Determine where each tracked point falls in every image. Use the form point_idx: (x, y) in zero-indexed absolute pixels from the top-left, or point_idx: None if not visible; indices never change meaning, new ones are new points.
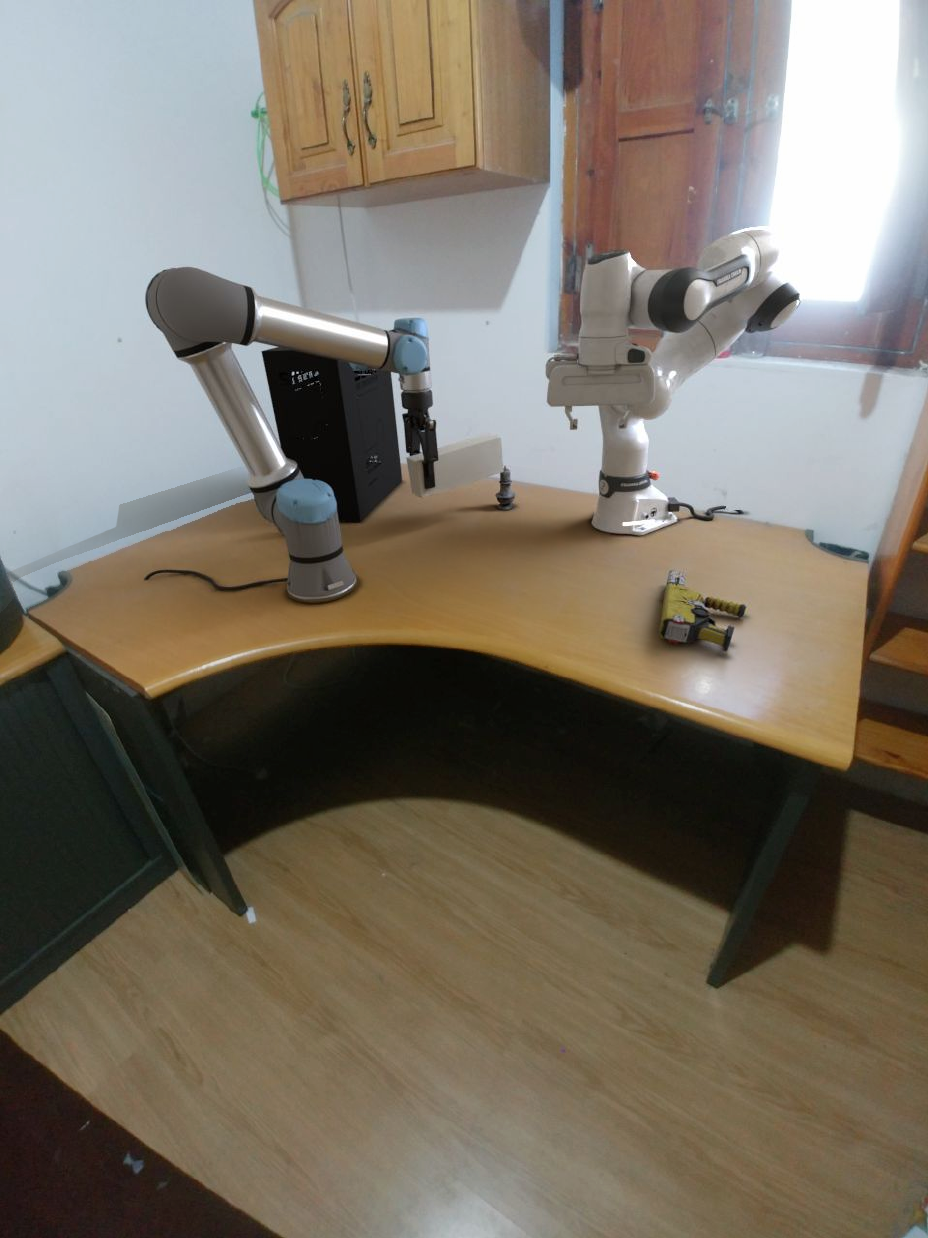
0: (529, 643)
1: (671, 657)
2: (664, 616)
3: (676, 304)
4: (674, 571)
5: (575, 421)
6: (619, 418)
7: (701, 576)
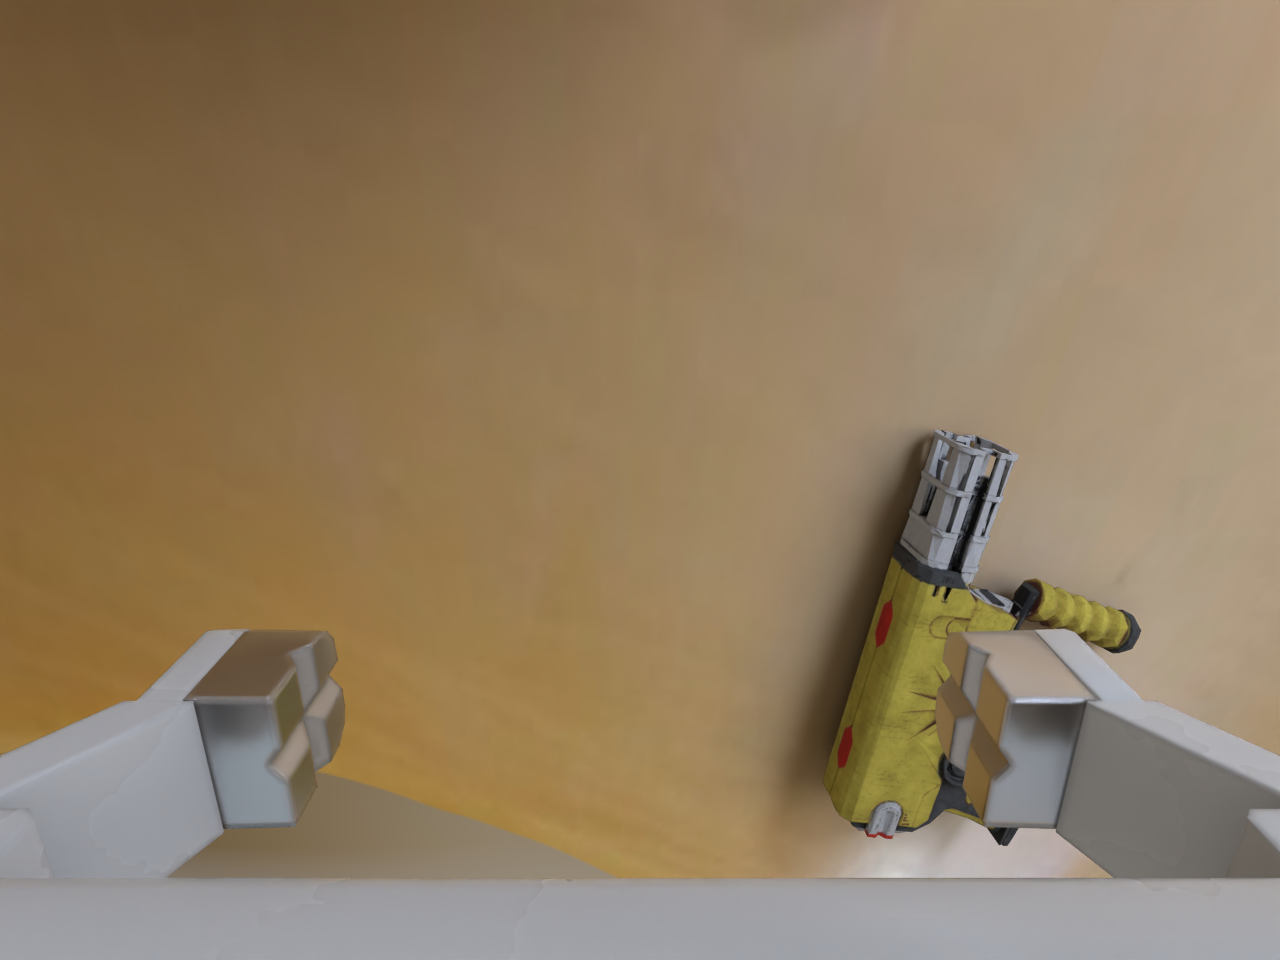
0: (460, 775)
1: (835, 810)
2: (847, 802)
3: None
4: (978, 461)
5: (264, 819)
6: (1010, 731)
7: (1100, 319)
